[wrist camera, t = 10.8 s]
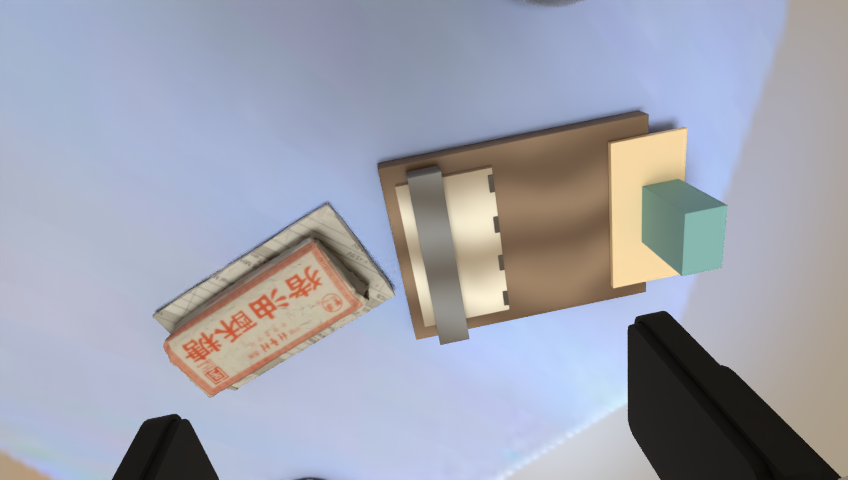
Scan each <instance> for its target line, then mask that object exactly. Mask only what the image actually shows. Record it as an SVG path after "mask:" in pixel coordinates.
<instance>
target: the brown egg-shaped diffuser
mask: <svg viewBox="0 0 848 480" xmlns="http://www.w3.org/2000/svg"><path fill="white" fill-rule="evenodd" d="M522 1H524V2H527V3H530V4H533V5H537V6H544V7H559V6H567V5H572V4H576V3H579V2H582V1H585V0H522Z"/></svg>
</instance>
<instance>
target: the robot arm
mask: <svg viewBox="0 0 848 480" xmlns="http://www.w3.org/2000/svg"><path fill="white" fill-rule="evenodd" d="M628 422H629V426H630V429H631V432H632V434H633V436H634V438H635V439H636V441H637V443H638V444H639V446H640V447H641V449H642V451H643V452H644V454H645V455H646V457H647V459H648V460H649V462H650V463H651V465H652V467H653V468H654V470H655V471H656V473H657V475H658V476H659V478H660V479H661V480H848V476H846V477H843V478H841V477H840V476H839V475H838V474H837V473H836V472H835V471H834V470H833V469H832V468H831V467H830V466H829V465H828V464H827V463H826V462H825V461H824V460H823V459H822V458H821V457H820V456H819V455H818V454H817V453H816V452H815V451H814V450H813V449H812V448H811V447H810V446H809V445H808V444H807V443H806V442H805V441H804V440H803V439H802V438H801V437H800V436H799V435H798V434H797V433H796V432H795V431H794V430H793V429H792V428H791V427H790V426H789V425H788V424H787V423H786V422H785V421H784V420H783V419H782V418H781V417H780V416H779V415H778V414H777V413H776V412H775V411H774V410H773V409H772V408H771V407H770V406H769V405H768V404H766V402H764V401H763V400H762V399H761V398H760V397H759V396H758V395H757V394H756V393H755V392H754V391H753V390H752V389H751V388H750V387H749V386H748V385H747V384H746V383H745V382H744V381H743V380H742V379H741V378H740V377H739V376H738V375H737V374H736V373H735V372H734V371H733V370H731V369H730V368H729V367H726V366H723V365H721V366H720V365H719V364H718V363H717V362H716V361H715V359H714V358H712V357H711V356H710V354H709V353H708V352H707V351H705V350H704V348H703V347H702V346H701V345H699V344H698V342H697V341H696V340H695V339H694V338H692V337H691V335H690V334H689V333H688V332H687V331H686V330H685V329H684V328H683V327H682V326H681V325H680V324H679V323H678V322H677V321H676V320H675V319H674V318H673V317H672V316H671V315H670V314H669V313H667V312H666V311H660V312H655V313H650V314H646V315H641V316H638V317H636V319H635V323H634V324H632V325H629V327H628ZM112 480H219V478H218V476H217V474H216V472H215V470H214V468H213V466H212V464H211V462H210V460H209V458H208V456H207V454H206V453H205V451H204V449H203V447H202V445H201V443H200V441H199V439H198V437H197V435H196V433H195V431H194V429H193V427H192V425H191V423H190V422H189V420H187V419H181V417H180V416H179V415H177V414H171V415H166V416H162V417H157V418H152V419H148V420H146V421H144V423H143V424H142V425H141V427H140V429H139V431H138V432H137V434H136V436H135V438H134V440H133V442H132V443H131V445H130V447H129V449H128V451H127V453H126V455H125V456H124V458H123V460H122V462H121V464H120V466H119V467H118V469H117V471H116V473H115V475H114V477H113V479H112Z"/></svg>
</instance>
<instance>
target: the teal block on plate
mask: <svg viewBox="0 0 848 480" xmlns="http://www.w3.org/2000/svg"><path fill="white" fill-rule="evenodd" d="M686 142H687V128H685V127H681V128H676V129H671V130H666V131H661V132H656V133H651V134H646V135H641V136H636V137H631V138H626V139H622V140H617V141H612V142H608V170H609V222H610V274H611V286H612V287H613V288H617V287H622V286H627V285H631V284H636V283H641V282H646V281H651V280H655V279H660V278H665V277H670V276H675V275H679V274H680V275H681V276H685V275H690V274H695V273H700V272H704V271H709V270H714V269H718V268H722V258H723V247H724V236H725V225H726V213H727V205H726V204H724V203H722V202H720V201H719V200H717V199H715V198H713V197H711V196H709V195H708V194H706V193H704V192H702V191H700V190H698V189H697V188H695V187H693V186H691V185H689V184H687V183H686V182H685V162H686Z"/></svg>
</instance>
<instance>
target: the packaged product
mask: <svg viewBox="0 0 848 480" xmlns="http://www.w3.org/2000/svg"><path fill="white" fill-rule="evenodd" d="M394 296H395V293H394V291H393V289H392V287H391V285H390V283H389V282H388V280H387V279H386V277H385V276H384V275H383V273H382V272H381V271H380V270H379V268H378V267H377V266H376V265H375V263H374V262H373V261H372V260H371V258H370V257H369V255H368V254H367V253H366V251H365V250H364V248H363V247H362V245H361V244H360V243H359V241H358V240H357V238H356V237H355V236H354V234H353V233H352V232H351V230H350V229H349V227H348V226H347V225H346V223H345V222H344V221H343V220H342V218H341V217H340V216H339V215H338V214H337V213H336V212H335V211H334V210H333V209H332V207H331V206H330V205H329V204H328V203H327V204H325V205H323V206H322V207H320V208H318V209H317V210H315V211H313V212H311V213H310V214H308V215H307V216H305V217H303V218H302V219H300V220H298V221H297V222H295V223H294V224H292V225H290V226H289V227H287V228H286V229H284V230H283V231H282V232H281V233H279V234H278V235H277V236H275V237H274V238H272V239H271V240H269V241H267V242H266V243H264V244H262V245H261V246H259V247H258V248H256V249H254V250H253V251H251V252H249V253H248V254H246V255H245V256H243V257H242V258H240V259H238V260H236V261H234V262H232V263H231V264H229V265H227V266H226V267H224V268H223V269H222V270H219V271H218V272H217V273H215V274H214V275H213V276H212V277H210V278H209V279H208V280H207V281H205V282H204V283H202V284H200V285H198V286H196V287H195V288H193V289H191V290H189V291H188V292H186V293H184V294H183V295H182V296H180V297H179V298H177V299H176V300H174V301H173V302H172V303H170V304H169V305H167V306H166V307H165V308H163V309H162V310H160V311H158V312H157V313H155V314H153V318H155V319H156V320H157V321H158V322H159V323H160V324H161V325H162V326H163V327H164V328H165V329H166V330H167V331H168V332H169V333H171V334H170V335H169V337H168V338H167V339H166V340H165V342H164V350H165V352H166V353H167V354H168V356H169V359H170V362H171V363H172V364H173V365H176V366H177V367H179V369H180V370H181V371H182V372H183V373H185V374H186V375H187V376H188V377H189V379H190V381H192V382H193V383H194V384H195V385H196V386H198V387H199V388H200V389H201V390H202V391H204V392H205V394H206V395H207V396H208V397H209V398H210V397H213V396H215V395H216V394H217V393H219V392H220V391H222V390H224V389H226V388H227V389H231V390H235V391H236V390H237V389H238V388H239V387H241V386H242V385H243V384H246V383H248V382H249V381H250V380H252V379H254V378H256V377H258V376H260V375H261V374H263V373H264V372H266V371H268V370H269V369H271V368H273V367H275V366H276V365H278V364H279V363H281V362H283V361H285V360H286V359H288V358H290V357H291V356H293V355H295V354H296V353H298V352H301V351H302V350H304V349H305V348H307V347H308V346H310V345H312V344H314V343H315V342H317V341H319V340H320V339H322V338H324V337H325V336H327V335H329V334H330V333H332V332H334V331H335V330H337V329H338V328H340V327H342V326H344V325H346V324H348V323H349V322H351V321H353V320H355V319H356V318H358V317H360V316H361V315H363V314H365V313H367V312H368V311H370V310H371V309H373V308H375V307H377V306H378V305H379V304H381V303H383V302H385V301H386V300H388V299H390V298H392V297H394Z"/></svg>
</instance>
